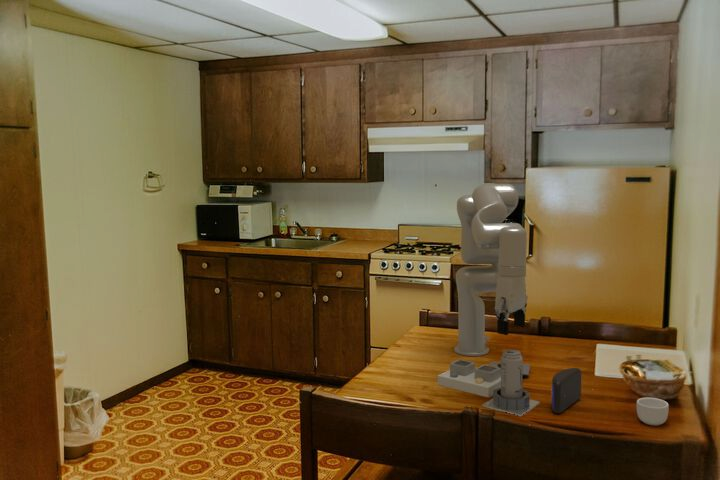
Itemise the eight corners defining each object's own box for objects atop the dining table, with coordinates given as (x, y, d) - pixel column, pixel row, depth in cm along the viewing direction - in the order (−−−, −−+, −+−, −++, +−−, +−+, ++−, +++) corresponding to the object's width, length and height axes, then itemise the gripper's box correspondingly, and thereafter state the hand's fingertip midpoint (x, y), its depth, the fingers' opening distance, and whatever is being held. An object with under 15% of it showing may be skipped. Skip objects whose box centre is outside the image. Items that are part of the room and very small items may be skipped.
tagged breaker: (485, 373, 199) (485, 366, 199) (496, 376, 197) (496, 368, 196) (478, 377, 196) (478, 369, 196) (490, 379, 194) (490, 371, 193)
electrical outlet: (529, 370, 213) (530, 363, 213) (528, 380, 203) (528, 373, 203) (490, 367, 217) (490, 360, 217) (486, 377, 207) (486, 370, 207)
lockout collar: (502, 394, 191) (502, 383, 190) (540, 403, 183) (540, 391, 182) (482, 406, 182) (482, 394, 181) (520, 416, 174) (520, 404, 173)
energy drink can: (520, 407, 179) (521, 356, 177) (499, 405, 181) (499, 354, 179) (523, 400, 184) (523, 350, 182) (502, 397, 186) (502, 348, 185)
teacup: (658, 430, 163) (658, 410, 162) (630, 421, 169) (630, 402, 169) (677, 420, 169) (678, 401, 168) (650, 412, 175) (650, 393, 175)
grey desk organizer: (458, 374, 209) (458, 357, 208) (507, 386, 197) (507, 367, 196) (437, 384, 200) (437, 366, 199) (488, 397, 188) (488, 378, 188)
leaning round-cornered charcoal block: (566, 395, 189) (567, 364, 188) (582, 398, 186) (582, 367, 185) (543, 412, 177) (544, 379, 176) (559, 416, 174) (560, 382, 173)
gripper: (514, 264, 187) (513, 321, 189) (484, 274, 174) (484, 334, 176) (538, 267, 182) (537, 325, 184) (509, 277, 169) (508, 339, 171)
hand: (511, 330), depth 180 cm, fingers open, 9 cm apart
